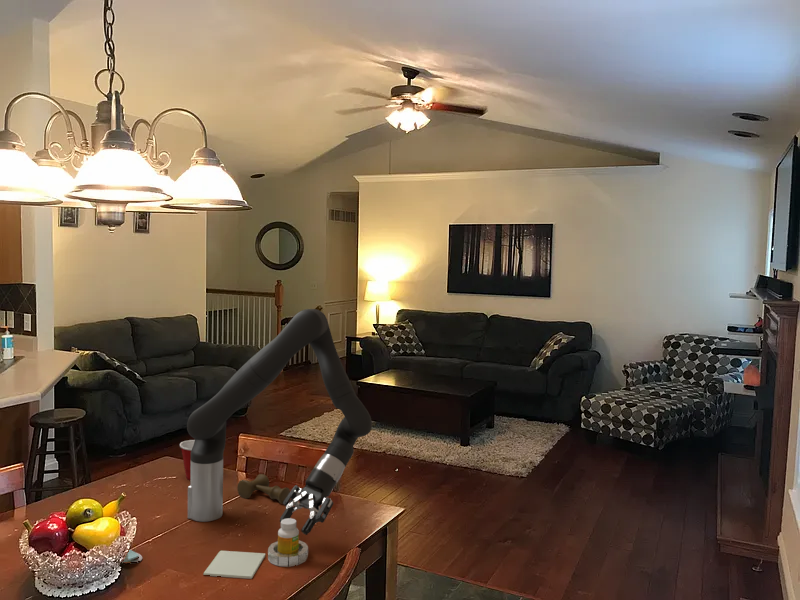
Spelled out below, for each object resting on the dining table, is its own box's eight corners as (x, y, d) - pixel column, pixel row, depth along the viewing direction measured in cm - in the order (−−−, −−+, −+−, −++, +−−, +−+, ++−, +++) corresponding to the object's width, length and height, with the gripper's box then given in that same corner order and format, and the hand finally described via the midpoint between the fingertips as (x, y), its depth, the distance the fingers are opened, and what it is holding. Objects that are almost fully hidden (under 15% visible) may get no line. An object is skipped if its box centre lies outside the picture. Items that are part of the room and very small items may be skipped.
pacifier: (132, 552, 171) (110, 559, 166) (133, 529, 170) (111, 535, 166) (147, 561, 166) (124, 569, 161) (148, 537, 166) (125, 544, 161)
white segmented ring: (263, 565, 166) (263, 555, 165) (274, 547, 175) (274, 538, 175) (302, 567, 165) (302, 558, 165) (310, 549, 175) (311, 540, 175)
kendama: (275, 510, 201) (228, 494, 211) (295, 501, 210) (249, 485, 220) (276, 491, 201) (229, 475, 211) (296, 482, 209) (250, 468, 219)
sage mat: (203, 575, 159) (203, 573, 159) (220, 552, 171) (220, 550, 171) (251, 578, 159) (251, 576, 159) (265, 555, 171) (265, 553, 171)
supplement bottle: (294, 563, 167) (294, 526, 166) (274, 560, 168) (274, 524, 167) (301, 553, 172) (302, 518, 171) (282, 551, 173) (282, 515, 173)
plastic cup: (210, 482, 221) (211, 447, 220) (177, 483, 219) (177, 448, 218) (213, 471, 231) (213, 438, 230) (181, 472, 229) (181, 439, 228)
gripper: (301, 461, 181) (267, 513, 173) (337, 474, 172) (303, 530, 164) (314, 475, 185) (282, 527, 177) (351, 488, 176) (318, 543, 168)
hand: (292, 528), depth 171 cm, fingers open, 8 cm apart
